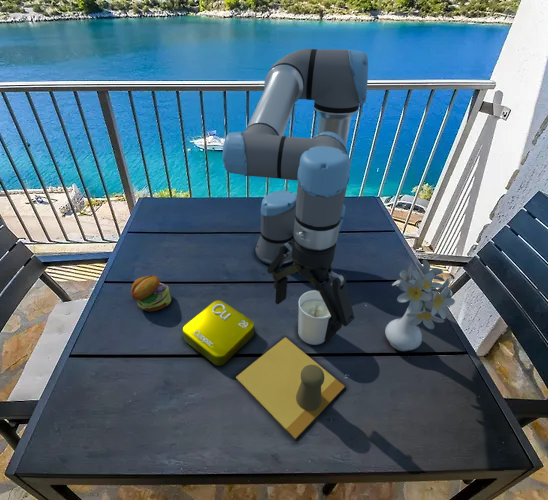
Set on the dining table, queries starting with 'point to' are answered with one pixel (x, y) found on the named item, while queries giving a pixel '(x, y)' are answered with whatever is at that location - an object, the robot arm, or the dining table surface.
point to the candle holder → (312, 318)
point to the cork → (310, 388)
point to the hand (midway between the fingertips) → (304, 318)
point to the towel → (286, 385)
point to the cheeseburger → (150, 293)
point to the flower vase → (418, 306)
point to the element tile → (218, 332)
